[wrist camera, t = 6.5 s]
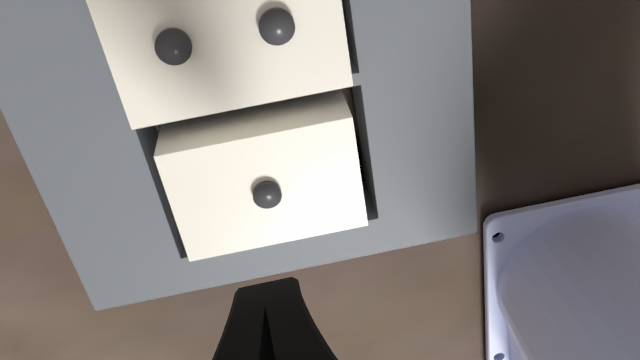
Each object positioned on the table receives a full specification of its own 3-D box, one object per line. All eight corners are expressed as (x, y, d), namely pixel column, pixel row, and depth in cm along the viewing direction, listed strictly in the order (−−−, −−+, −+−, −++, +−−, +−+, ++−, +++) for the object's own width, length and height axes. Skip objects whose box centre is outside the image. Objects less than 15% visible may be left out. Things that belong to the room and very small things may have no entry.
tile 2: (350, 173, 23) (369, 229, 20) (194, 204, 23) (189, 265, 20) (335, 75, 21) (353, 120, 18) (164, 108, 21) (152, 160, 18)
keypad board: (455, 196, 24) (477, 232, 22) (107, 267, 24) (95, 310, 22) (422, -465, 15) (455, -515, 12) (-167, -363, 14) (-237, -396, 12)
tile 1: (334, 44, 19) (354, 88, 16) (147, 81, 19) (130, 133, 16) (314, -90, 17) (332, -71, 14) (104, -51, 17) (75, -22, 14)
